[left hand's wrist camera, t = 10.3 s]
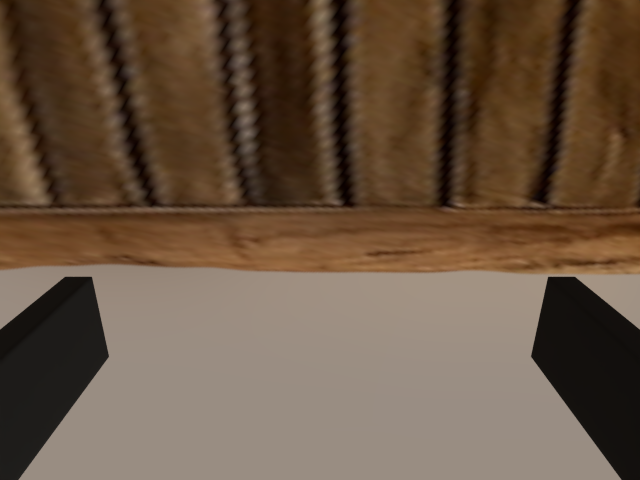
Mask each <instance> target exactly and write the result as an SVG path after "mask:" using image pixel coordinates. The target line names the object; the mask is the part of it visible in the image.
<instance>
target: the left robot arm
mask: <svg viewBox="0 0 640 480" xmlns="http://www.w3.org/2000/svg"><path fill="white" fill-rule="evenodd" d="M108 357H109V355H108V350H107V345H106V341H105V336H104V331H103V327H102V322H101V317H100V313H99V308H98V303H97V299H96V294H95V289H94V285H93V280H92V277H64V278H63V279H62V280H61V281H60V282H58V283H57V284H56V285H55V286H53V287H52V288H51V289H50V290H48V291H47V292H46V293H45V294H43V295H42V296H41V297H40V298H39V299H37V300H36V301H35V302H34V303H32V304H31V305H30V306H29V307H27V308H26V309H25V310H24V311H23V312H21V313H20V314H19V315H18V316H16V317H15V318H14V319H13V320H12V321H10V322H9V323H8V324H7V325H5V326H4V327H3V328H2V329H0V480H18V479H19V478H20V477H21V475H22V474H23V473H24V471H25V470H26V469H27V467H28V466H29V464H30V463H31V462H32V460H33V459H34V458H35V456H36V455H37V454H38V452H39V451H40V450H41V448H42V447H43V446H44V444H45V443H46V441H47V440H48V439H49V437H50V436H51V435H52V433H53V432H54V431H55V429H56V428H57V426H58V425H59V424H60V422H61V421H62V420H63V418H64V417H65V416H66V414H67V413H68V412H69V410H70V409H71V407H72V406H73V405H74V403H75V402H76V401H77V399H78V398H79V397H80V395H81V394H82V392H83V391H84V390H85V388H86V387H87V386H88V384H89V383H90V382H91V380H92V379H93V378H94V376H95V375H96V373H97V372H98V371H99V369H100V368H101V367H102V365H103V364H104V363H105V361H106V360H107V358H108ZM531 357H532V358H533V360H534V361H535V363H536V364H537V365H538V367H539V368H540V369H541V371H542V372H543V373H544V375H545V376H546V378H547V379H548V380H549V382H550V383H551V384H552V386H553V387H554V388H555V390H556V391H557V392H558V394H559V395H560V397H561V398H562V399H563V401H564V402H565V403H566V405H567V406H568V407H569V409H570V410H571V411H572V413H573V414H574V416H575V417H576V418H577V420H578V421H579V422H580V424H581V425H582V426H583V428H584V429H585V431H586V432H587V433H588V435H589V436H590V437H591V439H592V440H593V441H594V443H595V444H596V446H597V447H598V448H599V450H600V451H601V452H602V454H603V455H604V456H605V458H606V459H607V460H608V462H609V463H610V464H611V466H612V467H613V469H614V470H615V471H616V473H617V474H618V475H619V477H620V478H621V480H640V329H638V328H637V327H636V326H635V325H633V324H632V323H631V322H630V321H629V320H627V319H626V318H625V317H624V316H622V315H621V314H620V313H619V312H617V311H616V310H615V309H614V308H613V307H611V306H610V305H609V304H608V303H606V302H605V301H604V300H603V299H601V298H600V297H599V296H598V295H597V294H595V293H594V292H593V291H592V290H590V289H589V288H588V287H587V286H585V285H584V284H583V283H582V282H581V281H579V280H578V279H577V278H576V277H548V280H547V285H546V289H545V294H544V299H543V303H542V308H541V313H540V317H539V322H538V327H537V331H536V336H535V341H534V345H533V350H532V355H531Z"/></svg>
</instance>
